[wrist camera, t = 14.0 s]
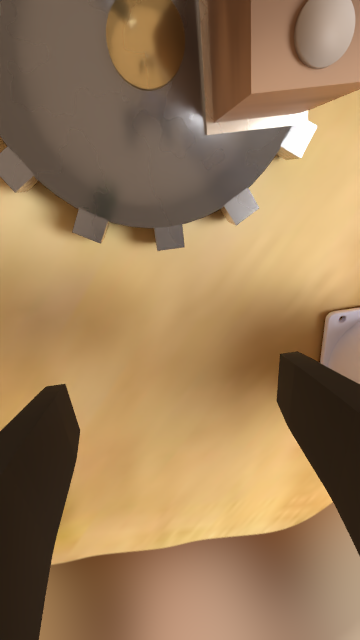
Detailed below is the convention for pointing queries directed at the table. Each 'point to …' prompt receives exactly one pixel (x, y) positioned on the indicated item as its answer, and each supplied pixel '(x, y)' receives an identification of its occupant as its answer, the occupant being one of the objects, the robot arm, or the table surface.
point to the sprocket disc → (128, 116)
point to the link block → (281, 55)
